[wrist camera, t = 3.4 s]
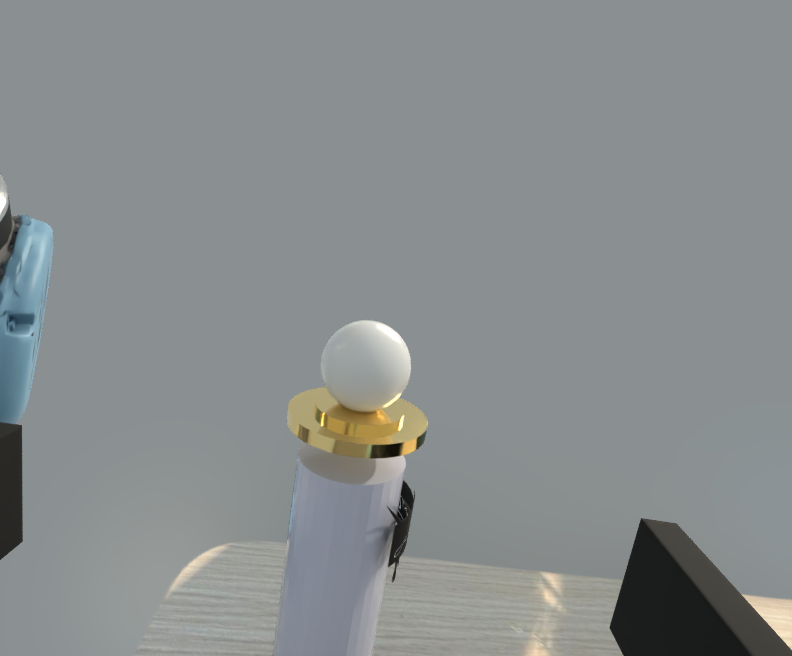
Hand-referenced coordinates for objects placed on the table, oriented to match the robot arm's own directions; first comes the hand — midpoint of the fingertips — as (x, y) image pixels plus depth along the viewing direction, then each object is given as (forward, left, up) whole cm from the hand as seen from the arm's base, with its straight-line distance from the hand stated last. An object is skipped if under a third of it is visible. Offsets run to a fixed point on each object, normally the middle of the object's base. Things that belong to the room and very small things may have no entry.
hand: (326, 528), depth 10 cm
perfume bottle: (0, +10, -18) cm, 20 cm away
